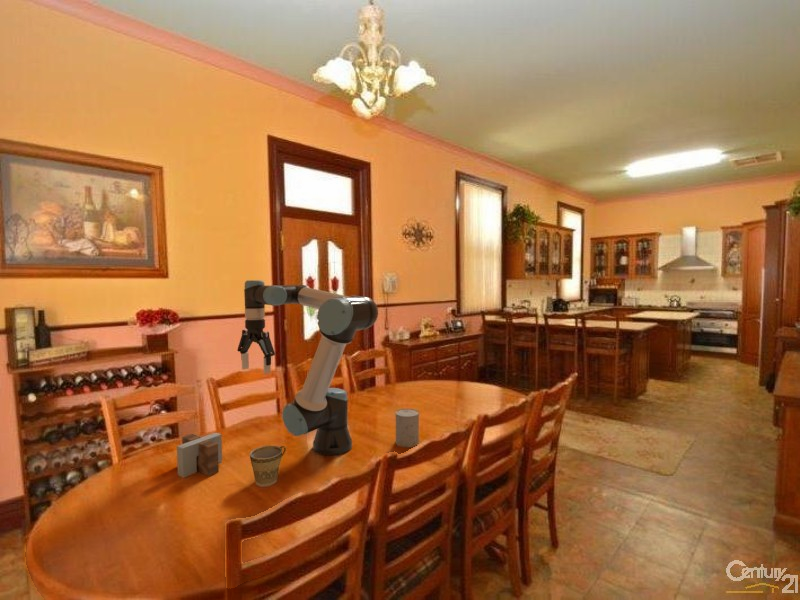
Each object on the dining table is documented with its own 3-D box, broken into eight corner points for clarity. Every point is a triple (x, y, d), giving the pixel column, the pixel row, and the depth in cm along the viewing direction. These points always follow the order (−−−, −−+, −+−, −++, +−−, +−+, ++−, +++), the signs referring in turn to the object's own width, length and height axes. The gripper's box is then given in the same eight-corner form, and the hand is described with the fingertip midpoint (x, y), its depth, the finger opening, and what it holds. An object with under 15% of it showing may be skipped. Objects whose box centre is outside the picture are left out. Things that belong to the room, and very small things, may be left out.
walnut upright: (218, 472, 137) (217, 443, 136) (209, 476, 134) (208, 447, 133) (192, 460, 145) (191, 433, 145) (182, 464, 142) (182, 436, 142)
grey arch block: (222, 461, 144) (221, 434, 144) (183, 477, 133) (182, 448, 132) (216, 459, 146) (215, 432, 146) (177, 475, 135) (176, 446, 134)
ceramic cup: (264, 493, 123) (263, 461, 123) (243, 484, 129) (243, 453, 128) (296, 475, 134) (295, 446, 134) (275, 467, 140) (275, 440, 139)
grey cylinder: (422, 440, 164) (422, 410, 163) (413, 449, 155) (413, 418, 155) (401, 436, 168) (401, 407, 167) (391, 444, 159) (391, 414, 159)
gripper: (283, 319, 156) (284, 373, 158) (243, 316, 170) (244, 365, 171) (268, 321, 150) (269, 377, 151) (227, 317, 164) (228, 369, 165)
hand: (256, 371), depth 161 cm, fingers open, 13 cm apart
